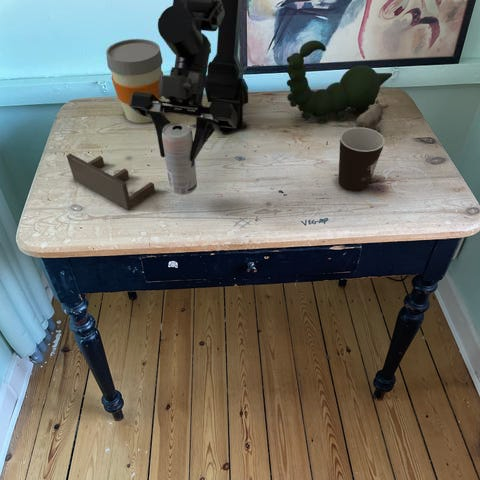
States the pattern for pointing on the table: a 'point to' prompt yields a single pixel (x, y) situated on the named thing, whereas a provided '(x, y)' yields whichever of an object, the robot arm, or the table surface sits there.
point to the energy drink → (179, 158)
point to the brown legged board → (107, 182)
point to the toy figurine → (332, 88)
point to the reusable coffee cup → (135, 72)
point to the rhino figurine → (371, 116)
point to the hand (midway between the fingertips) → (177, 159)
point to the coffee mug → (358, 157)
